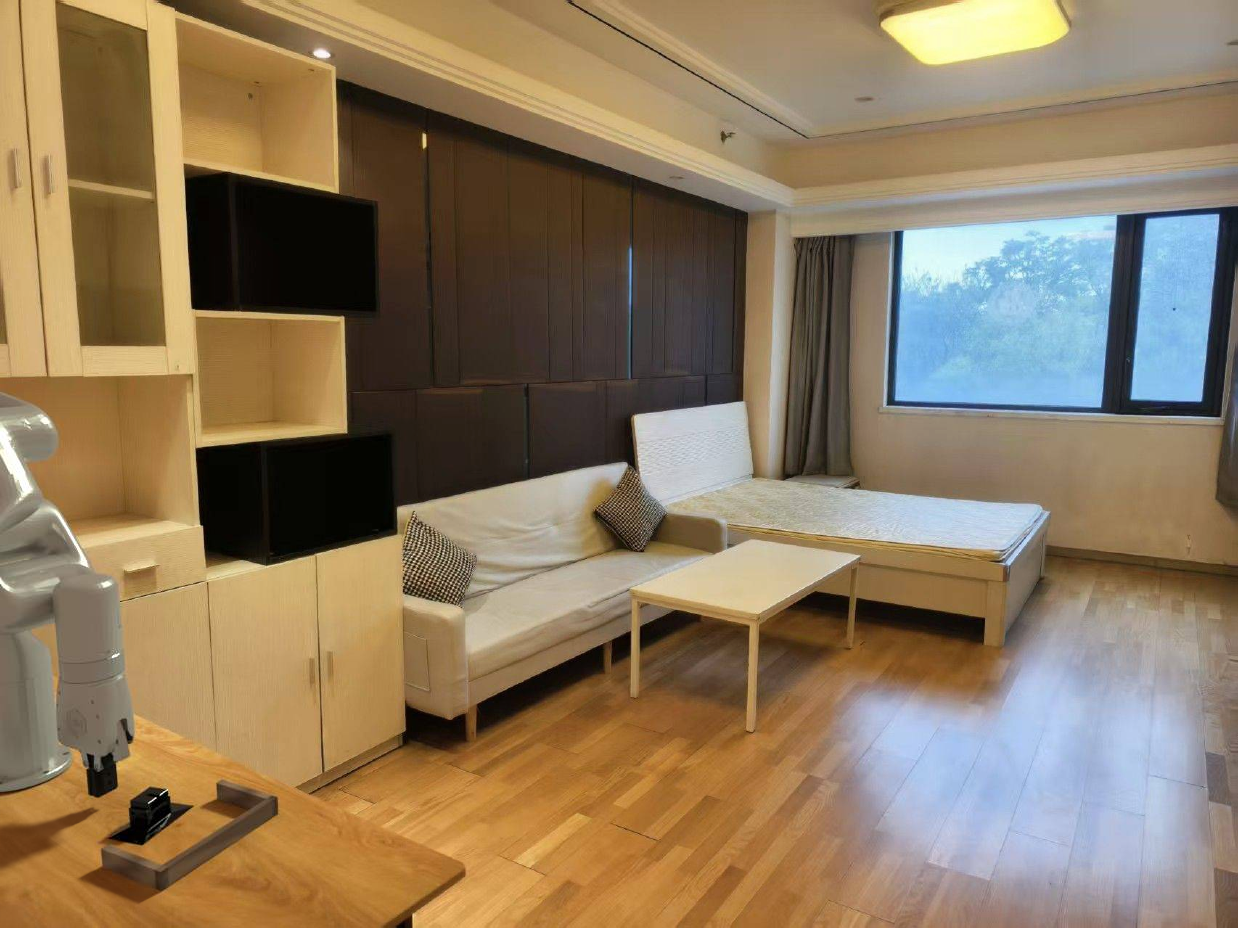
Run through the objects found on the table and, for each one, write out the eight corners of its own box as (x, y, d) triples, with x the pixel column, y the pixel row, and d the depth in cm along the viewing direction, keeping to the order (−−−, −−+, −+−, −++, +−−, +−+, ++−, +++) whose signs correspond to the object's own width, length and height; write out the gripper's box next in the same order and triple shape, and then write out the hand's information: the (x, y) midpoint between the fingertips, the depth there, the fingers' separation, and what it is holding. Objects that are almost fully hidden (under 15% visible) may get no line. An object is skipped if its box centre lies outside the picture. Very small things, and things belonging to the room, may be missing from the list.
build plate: (138, 858, 107) (135, 824, 106) (90, 849, 109) (87, 816, 108) (205, 804, 119) (203, 774, 118) (161, 797, 121) (158, 767, 120)
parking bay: (102, 867, 104) (100, 848, 104) (222, 795, 121) (222, 779, 120) (161, 891, 100) (160, 871, 100) (278, 813, 116) (277, 796, 116)
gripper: (28, 666, 114) (41, 792, 117) (103, 686, 108) (114, 819, 111) (83, 648, 120) (93, 767, 123) (156, 665, 115) (165, 791, 117)
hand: (103, 791), depth 117 cm, fingers closed
